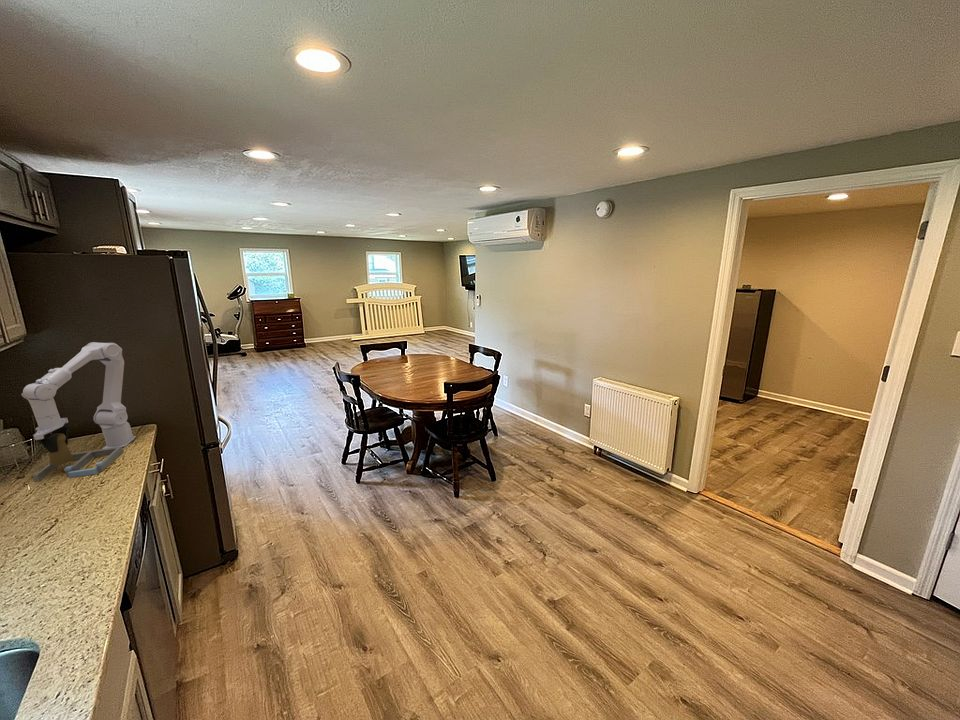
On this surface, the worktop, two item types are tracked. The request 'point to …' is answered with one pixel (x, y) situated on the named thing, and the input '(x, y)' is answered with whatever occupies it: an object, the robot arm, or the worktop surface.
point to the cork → (60, 452)
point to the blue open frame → (83, 463)
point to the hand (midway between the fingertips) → (58, 448)
